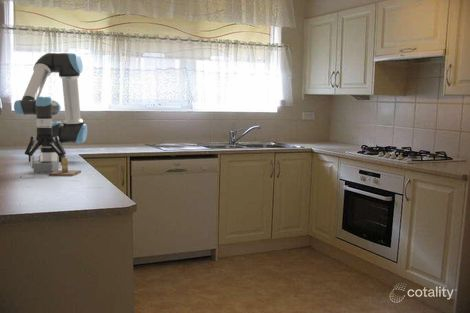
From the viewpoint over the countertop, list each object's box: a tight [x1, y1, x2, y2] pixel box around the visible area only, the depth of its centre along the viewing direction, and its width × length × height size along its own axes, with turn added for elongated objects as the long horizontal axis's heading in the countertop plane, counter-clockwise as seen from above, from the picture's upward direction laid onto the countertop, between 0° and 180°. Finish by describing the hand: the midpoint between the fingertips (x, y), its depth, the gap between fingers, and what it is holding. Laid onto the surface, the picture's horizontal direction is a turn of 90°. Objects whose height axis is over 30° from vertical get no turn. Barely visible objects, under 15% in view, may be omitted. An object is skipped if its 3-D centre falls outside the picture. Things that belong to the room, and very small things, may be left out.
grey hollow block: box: [33, 160, 59, 174], centre depth 256 cm, size 9×9×5 cm
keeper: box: [47, 157, 82, 177], centre depth 249 cm, size 12×12×8 cm
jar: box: [39, 146, 58, 161], centre depth 264 cm, size 9×8×12 cm
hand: (45, 168), depth 255 cm, fingers open, 13 cm apart
